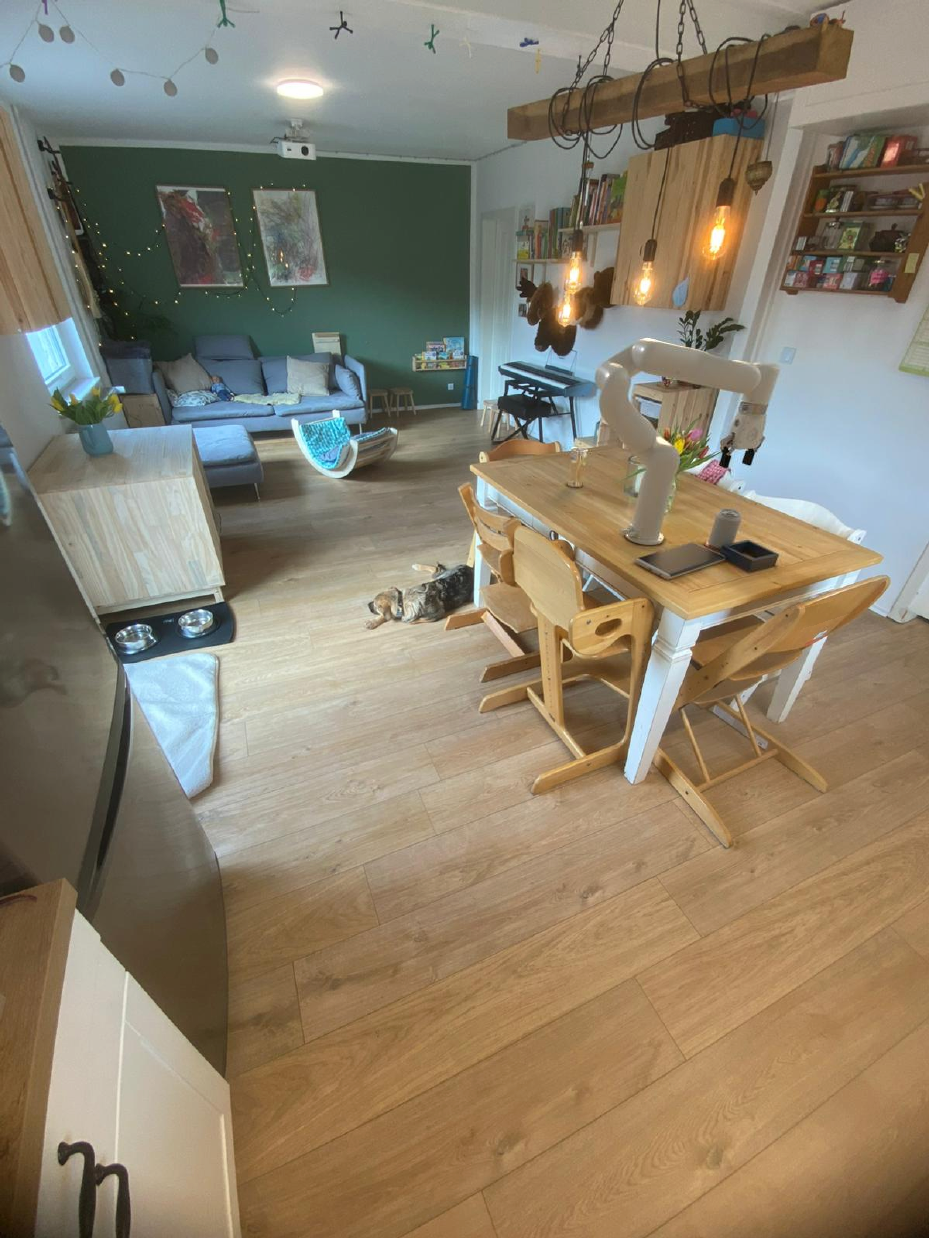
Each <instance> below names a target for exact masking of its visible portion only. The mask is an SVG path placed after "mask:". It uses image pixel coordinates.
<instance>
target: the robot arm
mask: <svg viewBox="0 0 929 1238" xmlns="http://www.w3.org/2000/svg"><path fill="white" fill-rule="evenodd" d="M780 369H781V367H780V365H779V364H777V363H773V362H763V361H761V362H760V361H759V362H750V361H744V360H738V359H733V360H731V359H728V358H724V357H721V356H717V355H714V354H711V353H709V352H707V351H704V350H701V349H697V348H692V347H687V346H683V345H678V344H673V343H670V342H664V341H660V340H657V339H653V338H650V337H644V338H641V339H639V340H637V341H635V342H633V343H632V344H630V345H629V346H627V347H626V348H624V349H623V350H621V351H619V352H617V353H616V354H614V355H613V356H611V357H609V358H608V359H606V360H605V361H603V362H602V363H601V364H600V365H599V366H597V369H596V371H595V373H594V383H595V385H596V387H597V388H598V389H599V391H600V393H599V399H598V409H599V413H600V415H601V417H602V419H603V420H604V421H605V423H606V424H607V425H608V426H609V428H611V429H612V431H613V432H614V433H615V434H616V435H617V437H618V439H619V440H620V442H621V443H622V444H623V445H624V446H625V447H626V448H627V449H628V450H629V451H630V452H631V453H632V454H633V455H634V456H635V457H636V458H637V459H638V460H639V461H640V462H641V463H642V464H643V465H644V466H645V471H644V473H643V475H642V478H641V480H640V484H639V489H638V494H637V499H636V503H635V508H634V513H633V518H632V522H631V523H629V526H628V527H626V528H623V529H620V530H619V535H620V536H625V538H626V539H627V540H628V541H630V542H632V543H635V544H639V545H645V546H656V545H659V544H662V543H663V542H664V540H665V536H664V535H663V534H662V533H661V530H662V527H663V523H664V518H665V515H666V510H667V506H668V502H669V498H670V493H671V489H672V486H673V483H674V479H675V477H676V475H677V472H678V471H679V468H680V464H681V457H680V453H679V451H678V449H677V448H676V447H675V446H674V445H673V444H671V442H670V441H668V440H666V438H664V437H663V436H662V435H661V434H660V433H659V432H658V431H657V430H656V429H655V427H654V425H653V423H652V422H651V421H649V420H648V418H646V417H645V416H643V415H642V414H641V412H639V410H638V409H637V408H636V407H635V405H633V404H632V402H631V400H630V399H629V393H630V389H631V384H632V378H634V377H635V376H636V375H638V374H639V373H642V372H643V373H645V374H649V375H652V376H656V377H657V376H658V377H663V378H667V379H672V380H676V381H680V382H685V383H690V384H692V385H700V386H704V387H708V388H709V387H710V388H714V389H718V390H722V391H726V392H731V393H736V394H742V397H741V400H740V404H739V406H738V410H737V413H736V414H735V415H734V418H733V421H732V422H731V425H730V427H729V431H728V434H727V435H726V436H725V437H723V438H722V439H720V442H719V443H720V444H719V445H720V448H719V449H720V453H721V457H720V460H719V463H718V466H719V467H720V468H724V469H728V468H729V467H730V463H731V460H732V453H734V451H735V450H738V451H739V450H741V451H742V450H745V451H744V454H743V457H742V461H741V463H742V464H743V465H746V466H749V467H750V466H752V465H753V461H754V457H755V455H756V453H757V452H758V450H759V449H760V447H761V446H762V444H763V443H764V441H765V439H766V437H765V435H764V432H765V427H766V423H767V412H768V408H769V404H770V401H771V398H772V396H773V392H774V390H775V387H776V383H777V380H778V377H779V374H780Z"/></svg>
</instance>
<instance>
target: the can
mask: <svg viewBox="0 0 929 1238" xmlns="http://www.w3.org/2000/svg"><path fill="white" fill-rule="evenodd" d="M741 515H742V513H741V512H740V511H738V510H736V509H732V508H721V509H720V510H719V512H717V513H716V515H715V518H714V522H713V525H712V528H711V532H710V535H709V538H708V540H707V542H709V544H710V545H711V546H712V547H714V548H716V549H721V548H722V545H727V544H731V543H735V540H736V537H737V534H738V531H739V528H740V525H741V523H742V517H741Z"/></svg>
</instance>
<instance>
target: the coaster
mask: <svg viewBox="0 0 929 1238" xmlns="http://www.w3.org/2000/svg"><path fill="white" fill-rule="evenodd" d="M704 545H705V546H704V547H706V548H708V549H710V550H712V551H715V552H717V553H720V551H721V549H716V548H714V547H712V546H711V545H710V544H709V542H708V541H706V542H705V544H704Z"/></svg>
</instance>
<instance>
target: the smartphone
mask: <svg viewBox="0 0 929 1238" xmlns="http://www.w3.org/2000/svg"><path fill="white" fill-rule="evenodd" d="M725 558H726V557H725V556H724V555H721V554H720V552H715V551H712V550H710V549H708V548H707V547H706V546H703V545H701V544H699V543H697V542H695V541H689V542H686V543H682V544H680V545H675V546H673V547H670V548H666V549H663V550H659V551H656V552H654V553H650V554H646V555H644V556H640V557H637V558H635V561H634V563H635V564H637V565H638V566H641V567H642V568H644V569H646V570H648V571H650V572H652V573H654V574H655V575H657V576H659V577H661V578H662V579H665V580H671V579H674V578H677V577H681V576H684V575H686V574H689V573H692V572H695V571H698V570H700V569H704V568H707V567H710V566H713V565H715V564H717V563H721V562H724V561H726V560H725Z"/></svg>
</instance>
